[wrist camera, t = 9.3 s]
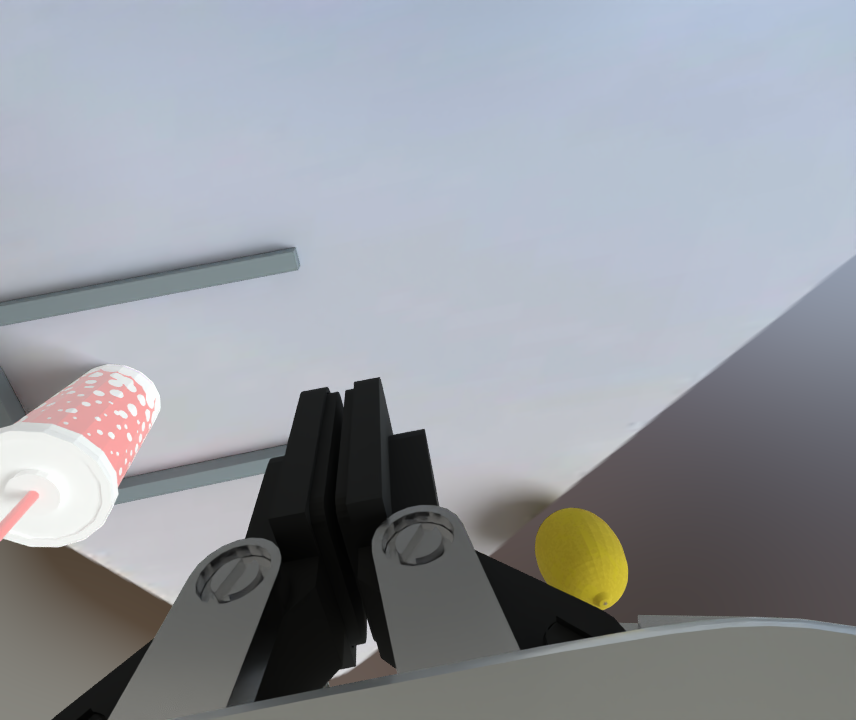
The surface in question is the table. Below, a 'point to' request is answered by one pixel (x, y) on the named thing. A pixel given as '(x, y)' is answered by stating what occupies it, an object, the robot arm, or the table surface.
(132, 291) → the slate channel
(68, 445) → the beverage cup
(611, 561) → the lemon
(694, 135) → the table surface
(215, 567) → the robot arm
